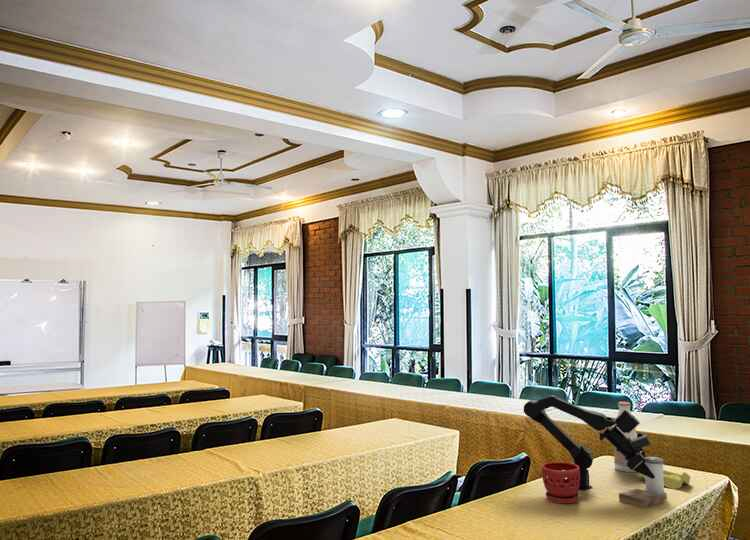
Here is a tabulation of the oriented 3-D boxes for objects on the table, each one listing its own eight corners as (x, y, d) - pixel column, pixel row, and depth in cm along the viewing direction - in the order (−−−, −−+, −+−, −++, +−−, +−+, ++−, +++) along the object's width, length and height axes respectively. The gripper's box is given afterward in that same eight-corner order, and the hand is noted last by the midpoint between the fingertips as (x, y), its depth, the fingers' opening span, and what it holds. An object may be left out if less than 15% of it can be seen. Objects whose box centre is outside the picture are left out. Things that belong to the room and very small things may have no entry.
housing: (658, 499, 208) (656, 462, 209) (639, 494, 214) (637, 458, 215) (671, 496, 212) (669, 459, 213) (652, 491, 218) (650, 455, 219)
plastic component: (692, 478, 227) (683, 471, 221) (688, 497, 225) (679, 490, 219) (640, 464, 242) (631, 457, 236) (636, 482, 240) (627, 475, 234)
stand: (644, 508, 199) (644, 500, 199) (619, 500, 208) (619, 493, 208) (662, 503, 204) (662, 496, 204) (637, 495, 213) (637, 488, 213)
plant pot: (564, 492, 217) (563, 459, 218) (589, 503, 204) (588, 468, 205) (534, 496, 212) (534, 462, 213) (557, 507, 200) (557, 471, 201)
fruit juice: (615, 465, 255) (613, 400, 257) (639, 468, 250) (636, 401, 253) (613, 470, 246) (611, 403, 248) (638, 473, 242) (635, 404, 244)
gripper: (635, 431, 209) (672, 466, 203) (635, 422, 226) (669, 454, 220) (612, 452, 211) (648, 487, 206) (614, 441, 228) (647, 473, 223)
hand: (653, 474), depth 214 cm, fingers open, 9 cm apart
